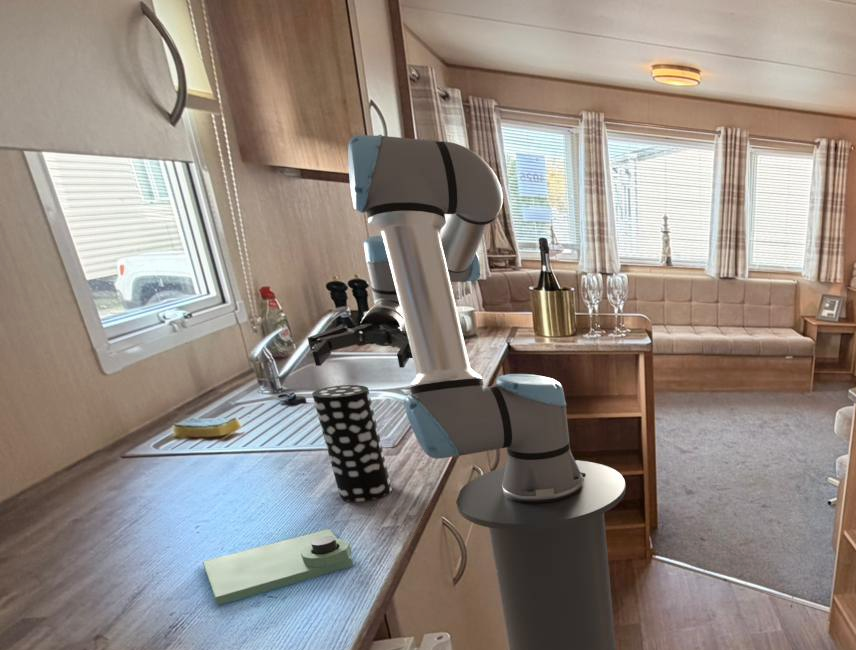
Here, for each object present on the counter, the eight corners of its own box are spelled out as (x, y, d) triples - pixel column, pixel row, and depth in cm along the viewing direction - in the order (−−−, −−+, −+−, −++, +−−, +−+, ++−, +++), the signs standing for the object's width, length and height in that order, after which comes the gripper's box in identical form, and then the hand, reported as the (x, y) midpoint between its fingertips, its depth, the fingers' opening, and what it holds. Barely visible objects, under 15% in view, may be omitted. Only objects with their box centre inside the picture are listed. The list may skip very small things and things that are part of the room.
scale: (335, 535, 106) (330, 519, 105) (358, 566, 98) (353, 549, 97) (205, 569, 95) (198, 551, 94) (218, 607, 87) (211, 589, 86)
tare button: (335, 543, 99) (332, 533, 98) (340, 550, 97) (337, 540, 96) (311, 550, 97) (308, 540, 96) (316, 557, 95) (313, 547, 94)
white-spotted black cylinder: (396, 482, 127) (373, 384, 118) (386, 499, 119) (361, 396, 111) (347, 485, 124) (321, 385, 116) (334, 503, 117) (304, 398, 109)
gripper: (452, 342, 143) (436, 379, 126) (321, 338, 135) (285, 377, 118) (447, 309, 139) (430, 343, 122) (312, 303, 131) (273, 338, 114)
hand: (359, 360), depth 120 cm, fingers open, 13 cm apart
